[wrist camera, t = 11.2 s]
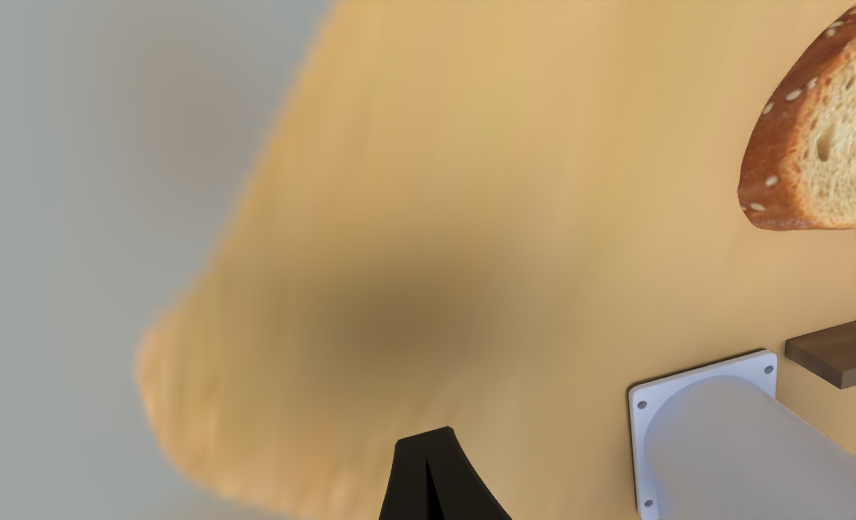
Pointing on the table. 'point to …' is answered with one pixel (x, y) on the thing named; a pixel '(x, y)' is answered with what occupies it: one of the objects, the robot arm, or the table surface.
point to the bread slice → (807, 141)
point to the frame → (827, 354)
